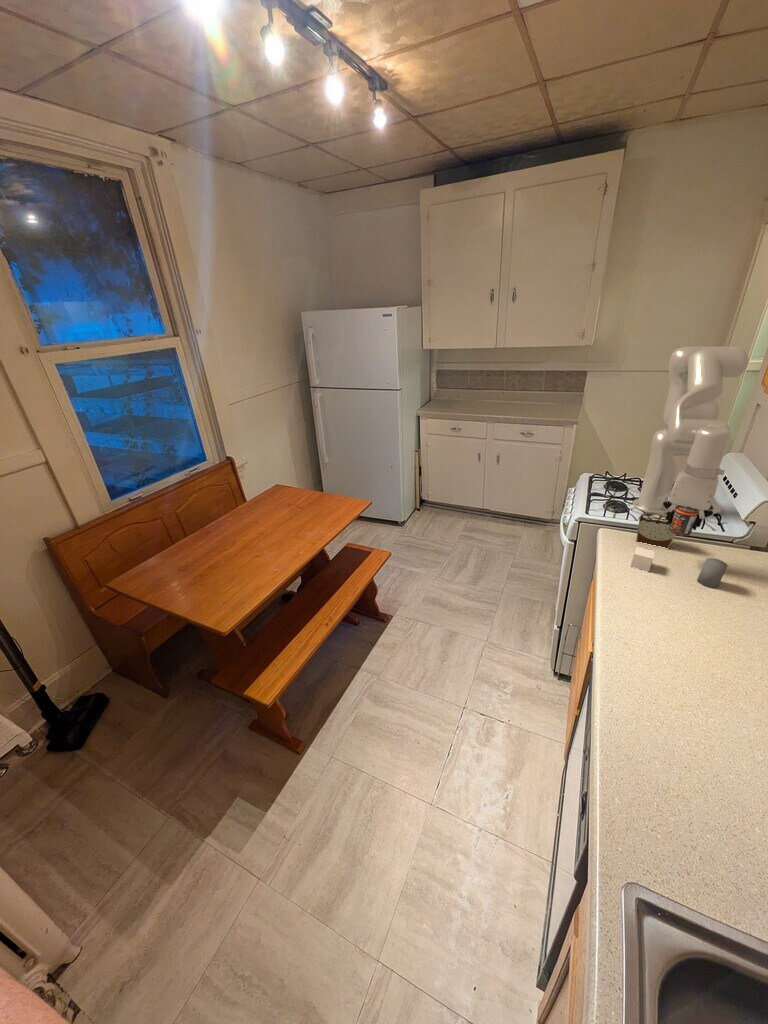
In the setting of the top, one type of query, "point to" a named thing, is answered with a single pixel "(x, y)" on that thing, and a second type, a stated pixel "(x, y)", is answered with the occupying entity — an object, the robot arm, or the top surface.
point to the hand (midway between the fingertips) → (681, 524)
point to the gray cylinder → (712, 572)
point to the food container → (654, 530)
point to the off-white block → (642, 559)
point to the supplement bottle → (683, 520)
